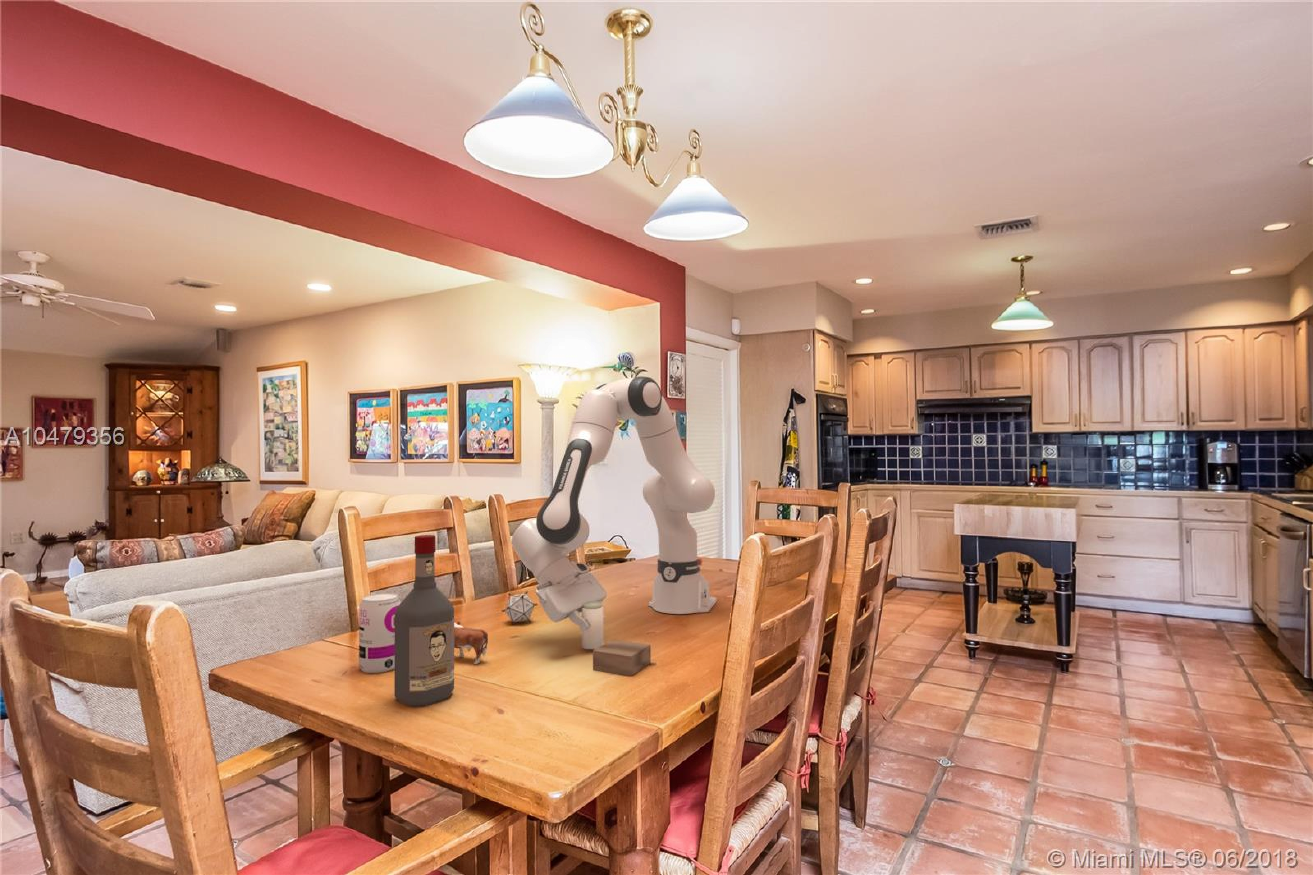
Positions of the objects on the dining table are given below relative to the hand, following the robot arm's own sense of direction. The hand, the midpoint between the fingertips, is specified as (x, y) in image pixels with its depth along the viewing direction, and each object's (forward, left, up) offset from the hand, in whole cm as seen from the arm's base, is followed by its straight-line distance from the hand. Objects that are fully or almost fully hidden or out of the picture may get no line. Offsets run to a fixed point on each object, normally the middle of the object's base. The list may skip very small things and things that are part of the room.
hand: (594, 624), depth 152 cm
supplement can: (+30, -35, -6) cm, 46 cm away
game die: (-12, -31, -6) cm, 33 cm away
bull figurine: (+18, -23, -6) cm, 30 cm away
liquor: (+38, -14, -6) cm, 41 cm away
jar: (0, -1, -5) cm, 5 cm away
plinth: (+7, +11, -6) cm, 15 cm away
